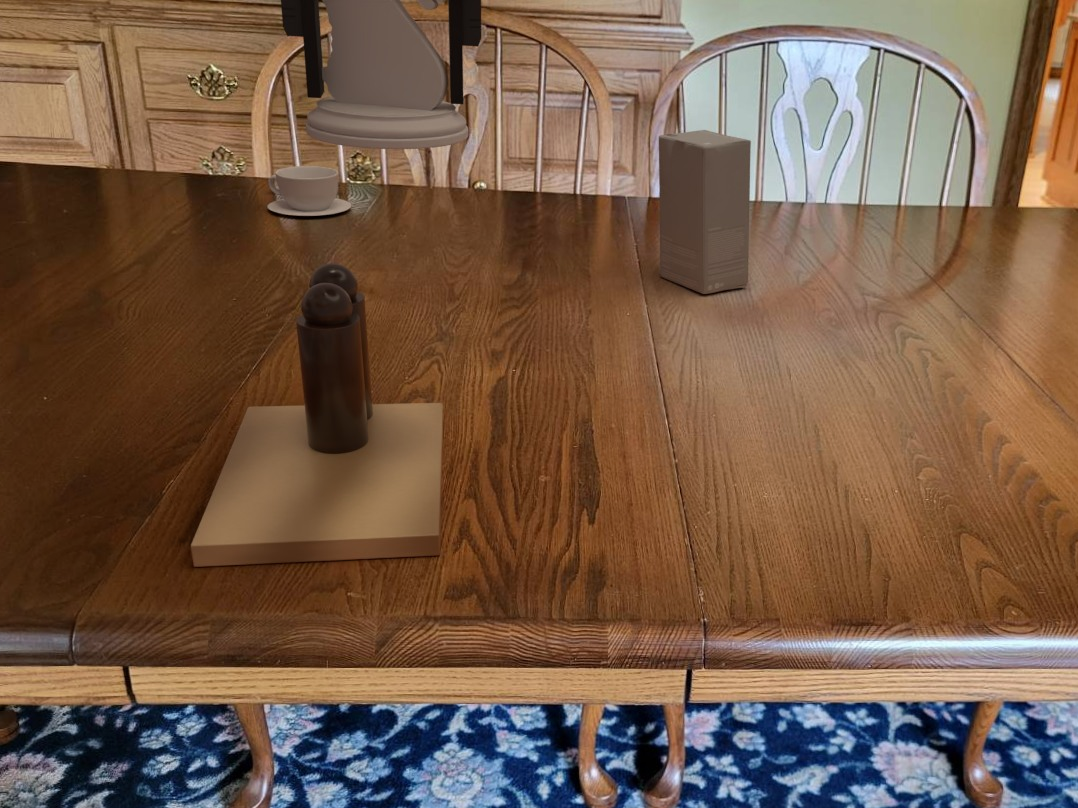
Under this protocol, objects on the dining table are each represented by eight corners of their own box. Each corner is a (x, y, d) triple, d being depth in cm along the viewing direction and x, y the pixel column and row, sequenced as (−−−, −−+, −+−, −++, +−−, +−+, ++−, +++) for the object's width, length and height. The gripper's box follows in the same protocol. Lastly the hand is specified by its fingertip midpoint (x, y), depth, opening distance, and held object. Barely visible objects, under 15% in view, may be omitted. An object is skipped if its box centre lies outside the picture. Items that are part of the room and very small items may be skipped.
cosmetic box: (748, 288, 120) (761, 140, 113) (696, 298, 116) (706, 144, 109) (701, 268, 126) (711, 126, 119) (650, 276, 122) (656, 129, 115)
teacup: (364, 204, 142) (361, 167, 140) (331, 222, 133) (328, 183, 131) (289, 197, 143) (286, 160, 141) (252, 215, 134) (248, 176, 132)
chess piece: (439, 155, 65) (430, -133, 58) (278, 140, 65) (250, -147, 59) (487, 128, 73) (483, -125, 67) (344, 115, 74) (327, -137, 68)
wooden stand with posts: (193, 567, 64) (160, 360, 58) (250, 424, 82) (228, 255, 76) (440, 556, 67) (431, 357, 61) (443, 420, 84) (436, 256, 79)
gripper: (554, -311, 64) (548, 95, 74) (172, -360, 59) (220, 80, 69) (569, -335, 58) (559, 115, 67) (141, -393, 53) (198, 99, 63)
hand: (387, 97), depth 68 cm, fingers closed on chess piece, 8 cm apart
